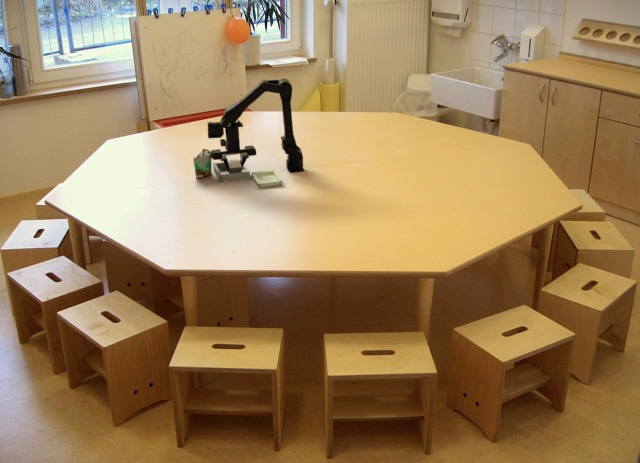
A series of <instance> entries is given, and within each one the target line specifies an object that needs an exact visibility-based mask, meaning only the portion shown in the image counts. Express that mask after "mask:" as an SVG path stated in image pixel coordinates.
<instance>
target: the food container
mask: <svg viewBox="0 0 640 463" xmlns="http://www.w3.org/2000/svg"><path fill="white" fill-rule="evenodd" d="M211 151H212V150H209V149H208V148H207V149H206V148H202V150H201V152H200V153H198V154H197V156H196V157H193V158H192V160H193V166H194V171H195V179H196V180H203V178H204V179H208V178H210V177H211V176H212V160H213V159H212V155H211ZM207 177H208V178H207Z"/></svg>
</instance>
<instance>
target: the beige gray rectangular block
mask: <svg viewBox="0 0 640 463" xmlns="http://www.w3.org/2000/svg"><path fill="white" fill-rule="evenodd" d="M239 160H240V158H232V159H228V165H229V173H228V174H231V173H239V172H242V171H243V169H242V168H241V163H240V161H239Z"/></svg>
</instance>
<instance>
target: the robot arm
mask: <svg viewBox="0 0 640 463" xmlns="http://www.w3.org/2000/svg"><path fill="white" fill-rule="evenodd" d="M266 92H268V93H273V94H279V97H280V98H279V99H280V101H281V111H282V120H283V131H284V133H283V136H280V139H281V144H280V145H281V149H282V150H283V151H284V153H285V154H286V155H287V156H286V160H285V163H286V164H285V166H286V169H287V171H288V172H289V173H297V172H298V173H299V172H305V169H304V155H303V152H302V149H301V147H299V146H298V145H297V142H296V137H295V135H294V125H293V116H292V102H291V101H292V97H293V96H292V95H293V86H292V83H291V82H290V80H289V79H288V78H280V79H269V80H268V79H262V80H261V81H259V82H258V84H257V85H256V86H254V87H253V88H252V89H251V90H250V91H249V92H248V93H246V94H245V95H244V96H243V97H242V98H240V100H238V101H236V102H234V103H231V104H229V105H227V107H225V108H224V111H223V115H222V117H221V119H220V120H219V121H214V122H213V121H207V137H208V138H207V139H209V140H210V139H219V143H220V147H224V149H225V150H224V151H221V149H220V148H219V149H212V150H210V151H211V155H212V159H211V160H213V161H218V160H220V162H224V163H225V166H226V168H227V169H226V170H227V172H228V173H227V174H229V165H228V160H229V159H228V157H227V156H232V155H233V156H235V155H240V158H239V160H240V163H241V168H242V170H243V169H244V166H245V163H246V161H247V159H249V158H250V157H254V156H257V148H255V146H254V145H245V146H244V148H242V149H241V141H240V140H241V139H240V128H242V127H244V124H243V122H241V121H240V120H239V119H240V118H241V116H242V115H243V113H244V112H245V110H246V109H247V108H248V107H250V106H251V105H252V104H253V103H254V102H256V101H257V100H258V98H261V96H262V95H263V94H264V93H266ZM224 135H225V138H222V137H223V136H224Z"/></svg>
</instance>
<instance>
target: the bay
mask: <svg viewBox="0 0 640 463" xmlns="http://www.w3.org/2000/svg"><path fill="white" fill-rule="evenodd" d="M239 161H240V159H239ZM212 165H213V172H214V173H215V175H216V177H217V179H218V181H219V183H225V182H224V181H227V182H235V181H234V180H236V181H242V179H244V180H250V179H251V172H250V171H243V172H239V173H231V174H229V173H224V174H222V173H221V170H227V168H226V166H225V163H224V162H223V161H220V162H213V163H212Z"/></svg>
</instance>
